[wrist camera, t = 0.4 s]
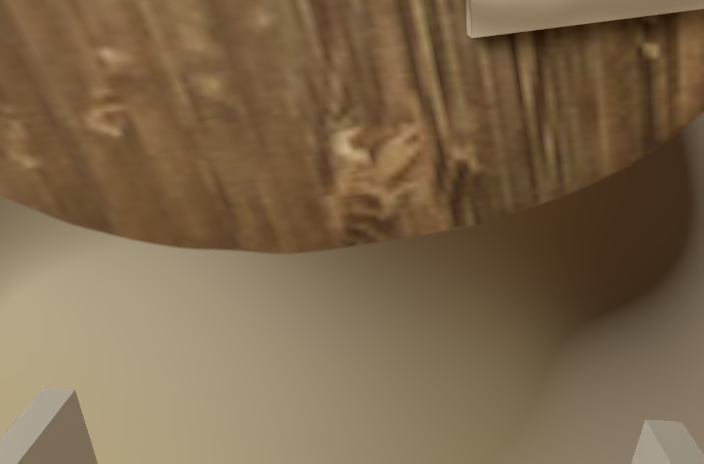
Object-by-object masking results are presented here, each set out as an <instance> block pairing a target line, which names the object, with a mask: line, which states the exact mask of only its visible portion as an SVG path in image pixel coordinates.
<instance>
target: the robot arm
mask: <svg viewBox="0 0 704 464" xmlns="http://www.w3.org/2000/svg"><path fill="white" fill-rule="evenodd" d="M0 464H98V463H97V460H96V456H95V453H94V450H93V447H92V444H91V440H90V437H89V434H88V430H87V428H86V424H85V421H84V417H83V414H82V411H81V408H80V404H79V401H78V398H77V395H76V391H75V390H69V389H52V388H44V389H43V390H42V391H41V392H40V394H39V395H38V396H37V397H36V398H35V399H34V401H33V402H32V403H31V404H30V405H29V406H28V408H27V409H26V410H25V411H24V412H23V413H22V415H21V416H20V417H19V418H18V419H17V420H16V422H15V423H14V424H13V425H12V426H11V427H10V428H9V430H8V431H7V432H6V433H5V434H4V435H3V437H2V438H1V439H0ZM631 464H704V455H703V454H702V452H701V451H700V449H699V447H698V446H697V445H696V443H695V441H694V440H693V438H692V437H691V435H690V434H689V432H688V431H687V429H686V428H685V426H684V424H683V423H682V422H679V421H660V420H645V423H644V426H643V429H642V432H641V435H640V438H639V442H638V444H637V448H636V451H635V453H634V457H633V460H632V463H631Z"/></svg>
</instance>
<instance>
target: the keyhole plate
mask: <svg viewBox="0 0 704 464" xmlns="http://www.w3.org/2000/svg"><path fill="white" fill-rule="evenodd" d="M698 9H704V0H466V22H467V35H468V36H470V37H471V38H477V37H485V36H493V35H501V34H509V33H517V32H525V31H533V30H541V29H548V28H556V27H564V26H572V25H580V24H588V23H596V22H604V21H611V20H619V19H627V18H635V17H643V16H651V15H659V14H667V13H674V12H682V11H690V10H698Z"/></svg>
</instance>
